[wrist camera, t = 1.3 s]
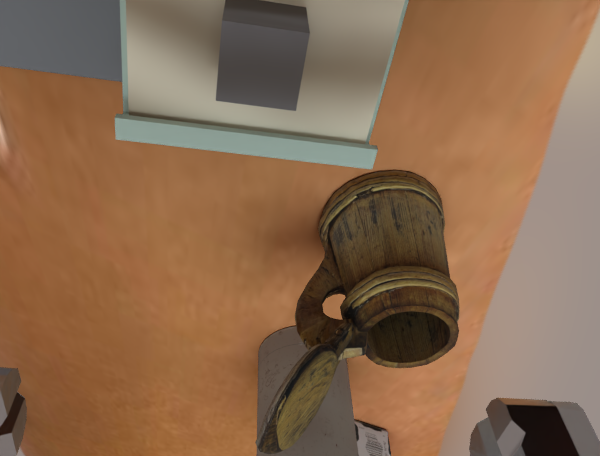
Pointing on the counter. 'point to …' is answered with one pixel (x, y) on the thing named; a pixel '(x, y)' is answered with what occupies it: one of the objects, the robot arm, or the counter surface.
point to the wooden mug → (369, 294)
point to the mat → (62, 37)
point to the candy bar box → (371, 440)
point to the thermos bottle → (332, 413)
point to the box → (241, 138)
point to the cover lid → (261, 63)
